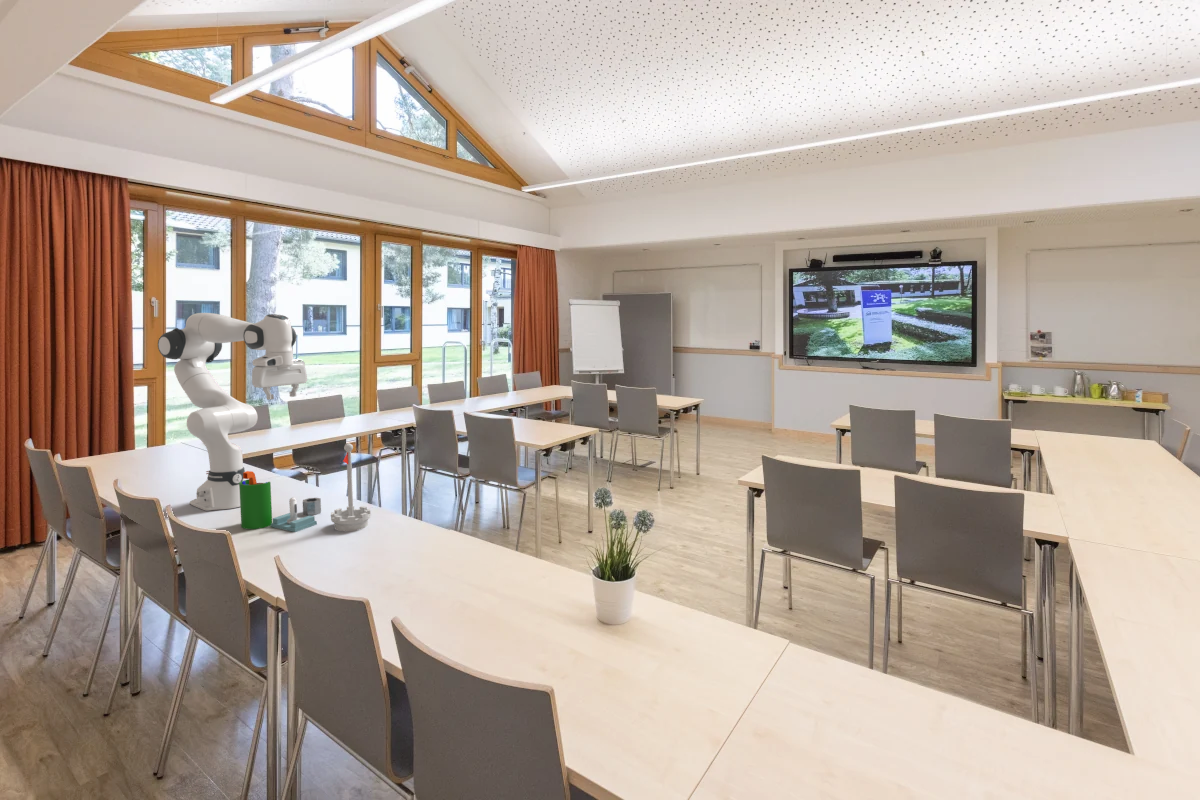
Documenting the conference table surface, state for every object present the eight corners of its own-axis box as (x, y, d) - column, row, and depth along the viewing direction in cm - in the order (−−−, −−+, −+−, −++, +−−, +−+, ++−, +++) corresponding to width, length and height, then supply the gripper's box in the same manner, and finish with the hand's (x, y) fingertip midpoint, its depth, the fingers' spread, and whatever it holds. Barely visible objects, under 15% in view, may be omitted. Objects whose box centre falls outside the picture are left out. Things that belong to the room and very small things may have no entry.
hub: (299, 514, 232) (299, 501, 231) (313, 509, 238) (312, 497, 237) (311, 516, 230) (310, 503, 229) (324, 511, 235) (323, 499, 234)
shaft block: (271, 526, 218) (269, 498, 216) (292, 519, 226) (291, 492, 225) (295, 532, 213) (293, 503, 212) (316, 524, 221) (315, 496, 220)
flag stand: (340, 519, 227) (337, 439, 223) (376, 520, 227) (373, 440, 223) (325, 532, 214) (321, 447, 210) (363, 532, 214) (360, 447, 210)
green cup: (277, 521, 223) (275, 467, 220) (262, 530, 214) (258, 474, 212) (251, 520, 224) (248, 466, 222) (234, 528, 215) (231, 472, 213)
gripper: (298, 358, 233) (299, 394, 235) (247, 361, 215) (250, 400, 217) (310, 358, 231) (311, 395, 232) (260, 361, 212) (262, 401, 214)
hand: (281, 398), depth 224 cm, fingers open, 8 cm apart
